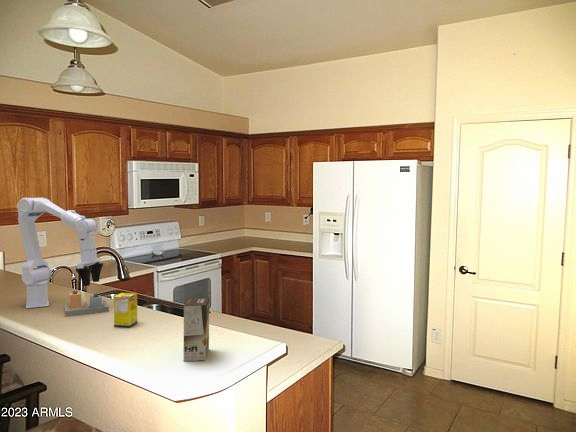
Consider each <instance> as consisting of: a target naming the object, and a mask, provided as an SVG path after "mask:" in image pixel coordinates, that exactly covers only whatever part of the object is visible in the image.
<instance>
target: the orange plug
mask: <svg viewBox="0 0 576 432" xmlns="http://www.w3.org/2000/svg"><path fill="white" fill-rule="evenodd" d="M68 298H69V308H79V307H81V306H82V294H81V292H79V291H78V290H74V291H72V292H69V297H68ZM78 306H79V307H78Z"/></svg>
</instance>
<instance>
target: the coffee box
mask: <svg viewBox="0 0 576 432" xmlns="http://www.w3.org/2000/svg"><path fill="white" fill-rule="evenodd" d="M209 349H210V297H207V296H206V297H203V296H202V297H199V296H198V297H188V299H187V300H186V301H185V303H184V304H183V362H195V361H196V362H198V361H199V360H205V361H206V359H207V355H208V353H209V351H210V350H209ZM197 360H198V361H197ZM199 362H200V361H199Z"/></svg>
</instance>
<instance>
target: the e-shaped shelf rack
mask: <svg viewBox="0 0 576 432" xmlns="http://www.w3.org/2000/svg"><path fill="white" fill-rule="evenodd" d="M68 306H69V305H68V303H64V317H73V316H74V317H75V316H80V315H81V316H82V315H90V314H99V313H107V312H109V309H110V308H109V305H108V303H107V301H106V300H105V299H102V307H94V308H90V307H89V305H88V302H87V301H84V302H83V308H77V309H68V308H69V307H68Z"/></svg>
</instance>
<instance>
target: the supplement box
mask: <svg viewBox="0 0 576 432" xmlns="http://www.w3.org/2000/svg"><path fill="white" fill-rule="evenodd" d="M137 323H138V293H137V292H120V293H118V294H116V295H114V296H113V327H114V328H128V329H129V328H131V327H133V326H135V325H136V324H137Z"/></svg>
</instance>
